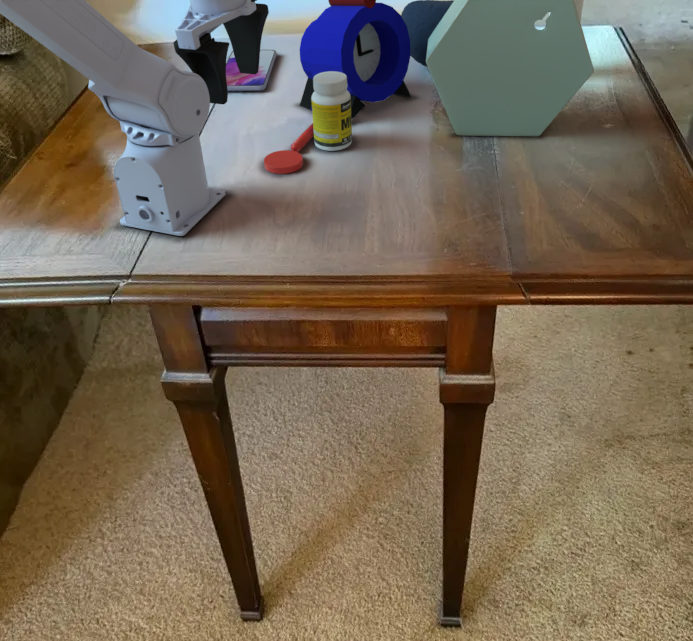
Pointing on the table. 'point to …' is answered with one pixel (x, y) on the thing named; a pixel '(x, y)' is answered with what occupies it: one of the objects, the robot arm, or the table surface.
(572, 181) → the table surface
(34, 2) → the robot arm
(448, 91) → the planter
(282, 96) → the table surface
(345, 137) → the supplement bottle
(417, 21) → the decorative stone
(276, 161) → the red rod and disc
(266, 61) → the smartphone
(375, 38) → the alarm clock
